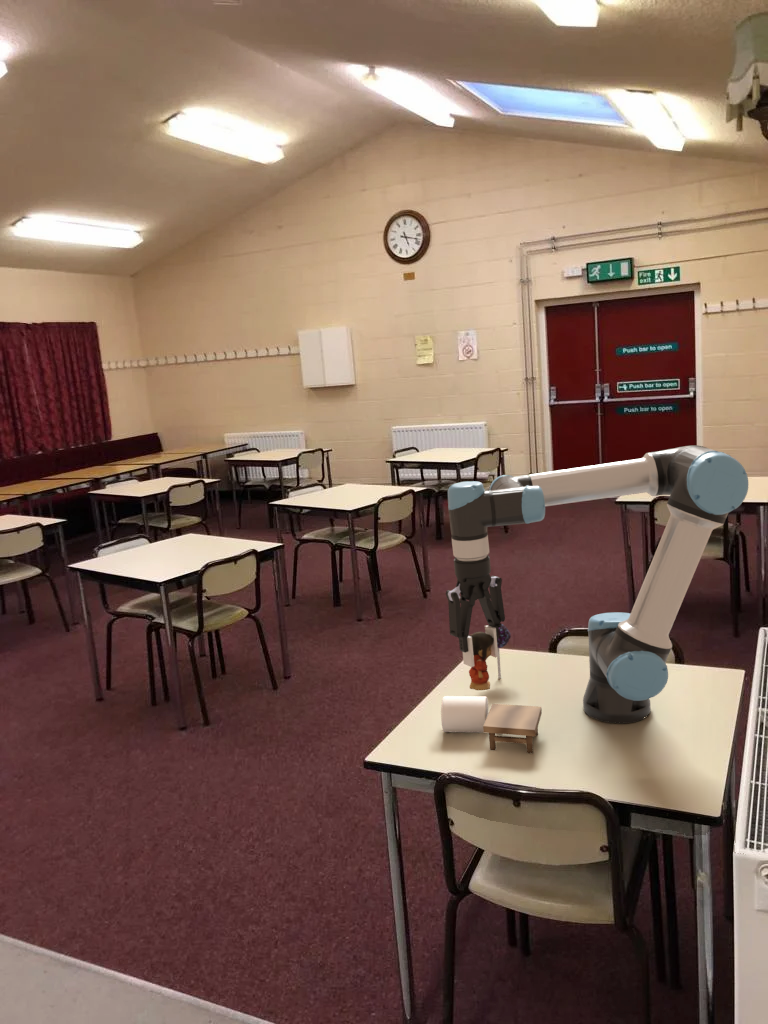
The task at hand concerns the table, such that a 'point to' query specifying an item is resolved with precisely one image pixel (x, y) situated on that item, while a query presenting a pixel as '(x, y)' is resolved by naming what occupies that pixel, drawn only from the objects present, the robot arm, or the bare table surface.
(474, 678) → the figurine
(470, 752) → the table surface
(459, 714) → the mug
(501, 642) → the lollipop
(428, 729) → the table surface
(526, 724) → the tan legged square part
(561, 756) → the table surface
